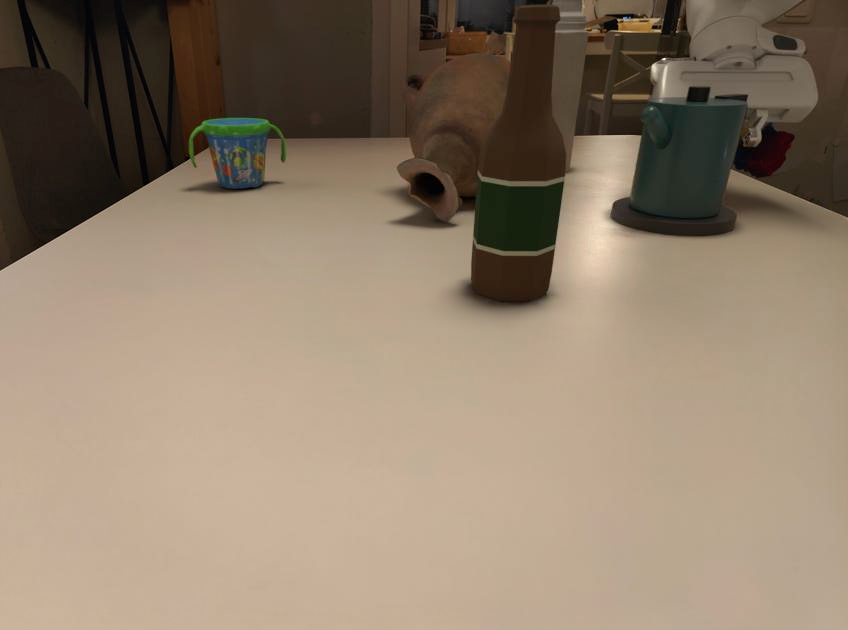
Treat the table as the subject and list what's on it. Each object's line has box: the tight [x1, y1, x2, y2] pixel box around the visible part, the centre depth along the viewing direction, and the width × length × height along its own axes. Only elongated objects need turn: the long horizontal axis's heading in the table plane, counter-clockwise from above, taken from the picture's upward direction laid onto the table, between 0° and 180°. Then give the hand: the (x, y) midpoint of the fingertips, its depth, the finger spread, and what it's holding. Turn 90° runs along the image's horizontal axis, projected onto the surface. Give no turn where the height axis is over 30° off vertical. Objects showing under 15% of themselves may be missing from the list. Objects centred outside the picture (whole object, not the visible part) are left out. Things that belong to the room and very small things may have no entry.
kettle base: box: [610, 196, 738, 237], centre depth 81 cm, size 15×15×2 cm
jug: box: [396, 52, 511, 223], centre depth 88 cm, size 20×20×30 cm
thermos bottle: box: [551, 0, 589, 173], centre depth 106 cm, size 8×8×28 cm
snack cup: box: [188, 117, 287, 190], centre depth 100 cm, size 16×10×10 cm
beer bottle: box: [470, 4, 566, 302], centre depth 54 cm, size 8×8×24 cm
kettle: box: [629, 86, 748, 218], centre depth 78 cm, size 21×11×15 cm, turn 123°
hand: (736, 143), depth 81 cm, fingers open, 3 cm apart
